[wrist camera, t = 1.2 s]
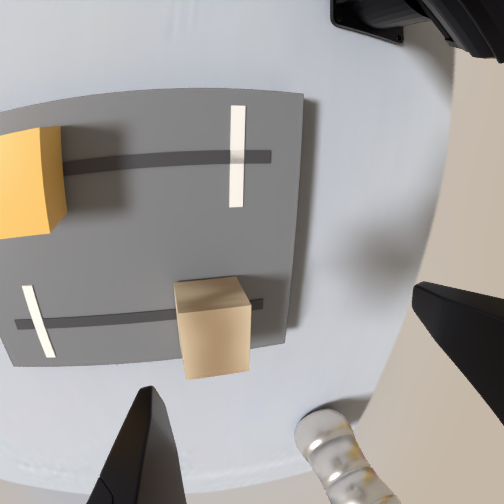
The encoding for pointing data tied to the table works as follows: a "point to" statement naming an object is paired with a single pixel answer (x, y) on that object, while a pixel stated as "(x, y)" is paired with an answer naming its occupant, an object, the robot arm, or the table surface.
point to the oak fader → (213, 326)
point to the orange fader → (31, 182)
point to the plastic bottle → (339, 460)
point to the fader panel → (154, 221)
